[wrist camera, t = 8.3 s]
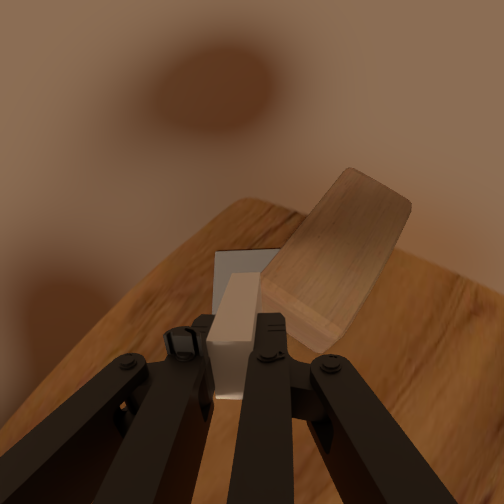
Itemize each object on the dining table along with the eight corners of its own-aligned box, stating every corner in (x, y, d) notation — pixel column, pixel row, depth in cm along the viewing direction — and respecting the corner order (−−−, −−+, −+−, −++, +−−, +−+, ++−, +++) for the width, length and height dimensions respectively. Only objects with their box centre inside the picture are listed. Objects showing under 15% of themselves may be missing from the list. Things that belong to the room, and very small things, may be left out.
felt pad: (301, 249, 40) (301, 248, 40) (307, 318, 35) (307, 318, 35) (215, 252, 41) (215, 251, 41) (212, 321, 36) (211, 320, 36)
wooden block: (254, 312, 36) (334, 209, 43) (320, 358, 32) (390, 242, 40) (250, 279, 27) (348, 161, 34) (341, 341, 24) (416, 201, 31)
